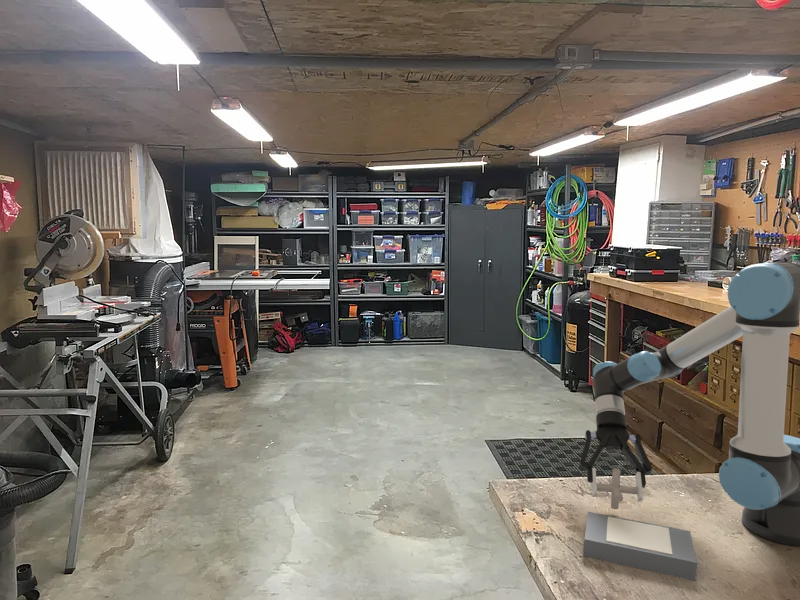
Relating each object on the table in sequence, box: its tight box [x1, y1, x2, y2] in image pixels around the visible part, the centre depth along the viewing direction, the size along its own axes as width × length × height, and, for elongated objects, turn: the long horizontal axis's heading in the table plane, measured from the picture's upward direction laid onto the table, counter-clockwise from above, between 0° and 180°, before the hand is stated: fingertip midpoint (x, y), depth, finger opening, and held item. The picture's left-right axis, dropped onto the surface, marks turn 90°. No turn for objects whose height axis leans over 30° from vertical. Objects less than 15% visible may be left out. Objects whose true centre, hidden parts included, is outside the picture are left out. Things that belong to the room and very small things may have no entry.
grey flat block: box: [582, 511, 698, 582], centre depth 123 cm, size 22×13×4 cm, turn 68°
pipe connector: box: [596, 468, 637, 510], centre depth 139 cm, size 10×10×10 cm
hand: (617, 497), depth 137 cm, fingers closed on pipe connector, 10 cm apart
